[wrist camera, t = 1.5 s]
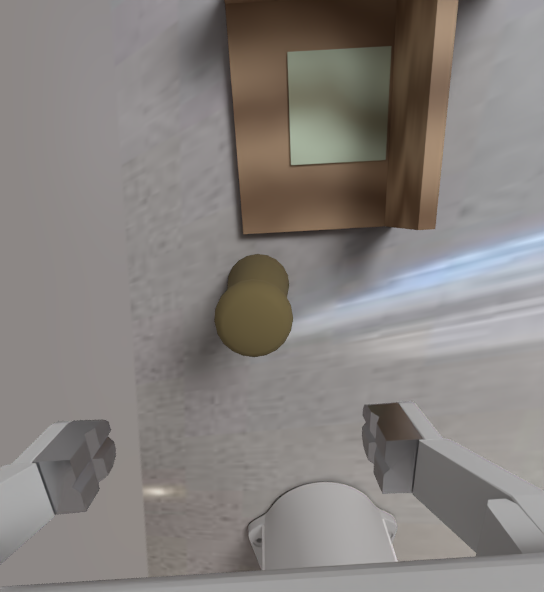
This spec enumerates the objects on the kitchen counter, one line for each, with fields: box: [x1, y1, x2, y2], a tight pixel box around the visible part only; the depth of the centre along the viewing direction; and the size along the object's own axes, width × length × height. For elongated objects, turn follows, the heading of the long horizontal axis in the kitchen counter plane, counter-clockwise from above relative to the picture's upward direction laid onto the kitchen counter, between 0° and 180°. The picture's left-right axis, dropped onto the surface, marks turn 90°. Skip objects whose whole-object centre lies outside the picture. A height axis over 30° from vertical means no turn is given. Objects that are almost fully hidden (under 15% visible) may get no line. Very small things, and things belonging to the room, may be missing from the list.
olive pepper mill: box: [214, 254, 293, 357], centre depth 23 cm, size 6×6×11 cm
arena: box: [224, 0, 458, 234], centre depth 21 cm, size 18×14×7 cm
